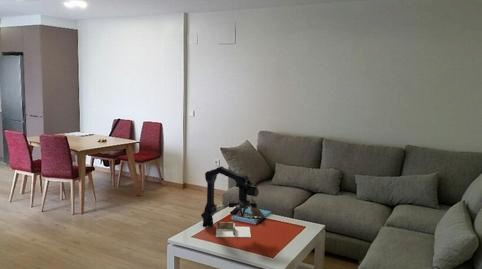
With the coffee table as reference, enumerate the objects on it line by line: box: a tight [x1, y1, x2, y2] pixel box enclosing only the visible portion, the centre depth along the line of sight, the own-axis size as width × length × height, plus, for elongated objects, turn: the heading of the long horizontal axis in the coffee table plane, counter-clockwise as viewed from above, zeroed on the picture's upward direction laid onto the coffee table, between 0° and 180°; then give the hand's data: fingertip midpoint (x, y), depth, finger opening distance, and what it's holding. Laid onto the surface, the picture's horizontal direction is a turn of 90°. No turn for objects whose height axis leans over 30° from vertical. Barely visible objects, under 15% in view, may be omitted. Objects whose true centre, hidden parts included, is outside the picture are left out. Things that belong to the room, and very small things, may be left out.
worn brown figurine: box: [249, 196, 265, 219], centre depth 289 cm, size 12×6×18 cm, turn 86°
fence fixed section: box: [216, 221, 236, 229], centre depth 266 cm, size 12×1×5 cm, turn 92°
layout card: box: [215, 226, 252, 238], centre depth 262 cm, size 23×17×1 cm
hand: (242, 216), depth 258 cm, fingers closed
